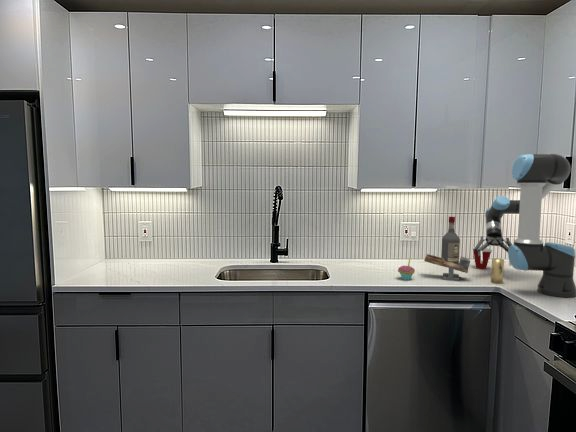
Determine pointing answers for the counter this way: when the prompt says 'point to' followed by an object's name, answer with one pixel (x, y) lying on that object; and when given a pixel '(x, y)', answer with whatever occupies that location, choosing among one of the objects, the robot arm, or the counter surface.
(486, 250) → the plastic cup
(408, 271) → the cupcake
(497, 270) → the cylinder
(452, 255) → the liquor
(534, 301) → the counter surface
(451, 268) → the pivot stand
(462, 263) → the balance beam
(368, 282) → the counter surface
